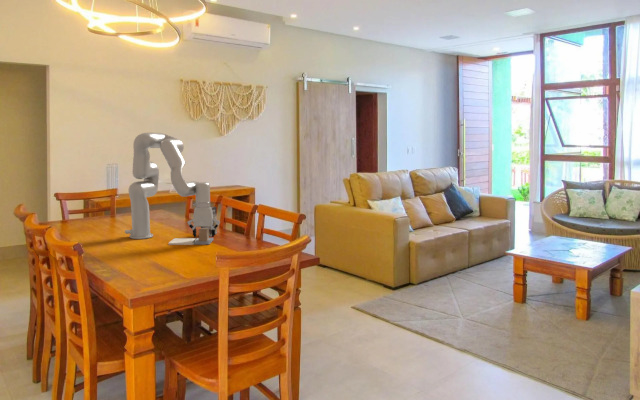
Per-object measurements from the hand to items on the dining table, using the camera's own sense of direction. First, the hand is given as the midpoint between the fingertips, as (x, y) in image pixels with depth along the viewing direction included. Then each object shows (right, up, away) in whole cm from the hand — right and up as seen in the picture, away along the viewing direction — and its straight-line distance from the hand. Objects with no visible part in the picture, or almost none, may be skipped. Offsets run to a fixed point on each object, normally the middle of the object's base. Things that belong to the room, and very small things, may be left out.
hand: (204, 236), depth 266 cm
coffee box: (-2, -1, +20) cm, 20 cm away
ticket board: (-11, -3, 0) cm, 11 cm away
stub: (0, -3, 0) cm, 3 cm away
